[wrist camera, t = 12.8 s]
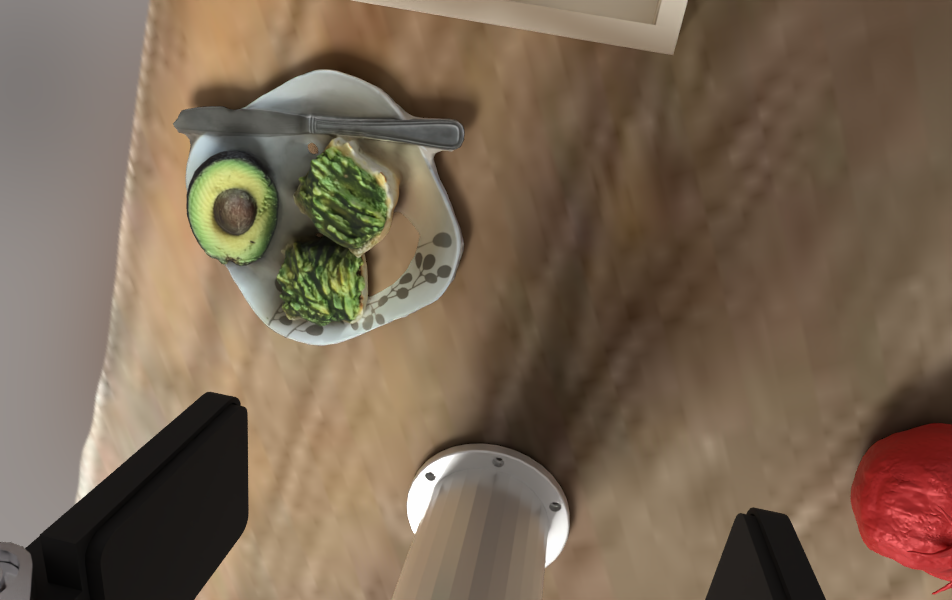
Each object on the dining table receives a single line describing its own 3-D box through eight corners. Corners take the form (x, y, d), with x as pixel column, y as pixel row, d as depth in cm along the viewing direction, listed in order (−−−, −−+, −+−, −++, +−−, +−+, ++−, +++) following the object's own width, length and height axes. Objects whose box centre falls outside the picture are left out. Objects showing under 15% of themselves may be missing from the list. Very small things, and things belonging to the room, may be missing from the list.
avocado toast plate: (409, -10, 35) (385, -17, 31) (531, 267, 40) (524, 293, 36) (158, 129, 41) (109, 140, 36) (292, 354, 46) (263, 386, 42)
